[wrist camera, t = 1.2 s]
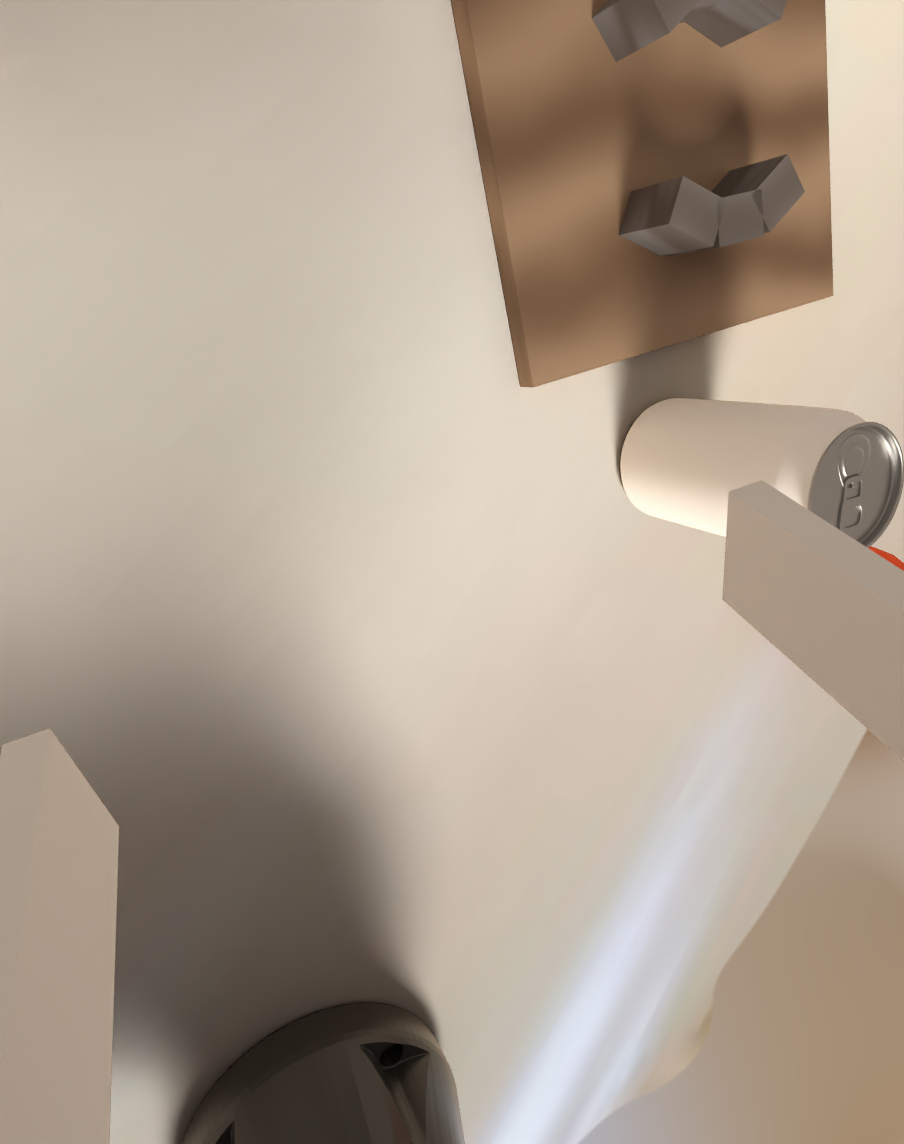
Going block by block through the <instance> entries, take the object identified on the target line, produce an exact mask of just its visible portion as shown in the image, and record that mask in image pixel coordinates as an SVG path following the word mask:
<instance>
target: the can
mask: <svg viewBox="0 0 904 1144" xmlns="http://www.w3.org/2000/svg"><path fill="white" fill-rule="evenodd" d="M620 472H621V479H622V483H623V487H624V490H625V492H626V494H627V496H628V498H629V499H630V501H631V502H632V503H633V505H634V506H635V507H636V508H638V509H639V510H640V511H642V512H643V513H646V514H648V515H651V516H654V517H657V518H660V519H664V520H667V521H671V522H674V523H678V524H681V525H685V526H689V527H692V528H696V529H699V530H703V531H707V532H710V533H714V534H717V535H721V536H725V537H726V528H727V511H728V494H729V491H732V490H735V489H738V488H740V487H743V486H746V485H749V484H752V483H755V482H758V481H761V480H763V481H764V482H766V483H767V484H769V485H770V486H772V487H774V488H775V489H777V490H778V491H780V492H781V493H783V494H784V495H786V496H788V497H789V498H791V499H792V500H794V501H795V502H797V503H798V504H800V505H802V506H803V507H805V508H806V509H808V510H809V511H811V512H812V513H814V514H816V515H817V516H819V517H820V518H822V519H823V520H825V521H827V522H828V523H830V524H831V525H833V526H834V527H836V528H837V529H839V530H841V531H842V532H844V533H845V534H847V535H848V536H850V537H851V538H853V539H855V540H856V541H858V542H859V543H861V544H862V545H864V546H865V547H867V548H869V547H870V546H871V545H872V544H873V543H875V542H876V541H877V539H878V538H879V537H880V536H881V535H882V534H883V532H884V531H885V530H886V528H887V527H888V525H889V523H890V522H891V520H892V518H893V516H894V514H895V511H896V509H897V506H898V504H899V500H900V497H901V493H902V488H903V481H904V461H903V455H902V451H901V448H900V445H899V443H898V441H897V439H896V437H895V436H894V434H893V433H892V432H891V431H890V430H889V429H888V428H887V427H885V426H883V425H881V424H879V423H875V422H866V421H865V420H863V419H862V418H860V417H859V416H857V415H855V414H853V413H851V412H848V411H843V410H838V409H829V408H818V407H805V406H791V405H778V404H763V403H749V402H734V401H719V400H703V399H685V398H672V399H666V400H663V401H660V402H658V403H656V404H654V405H652V406H650V407H649V408H647V409H646V410H645V411H644V412H643V413H642V414H641V415H640V416H639V417H638V418H637V419H636V421H635V422H634V423H633V425H632V427H631V428H630V430H629V432H628V434H627V436H626V438H625V441H624V444H623V447H622V451H621V458H620Z"/></svg>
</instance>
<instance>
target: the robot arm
mask: <svg viewBox="0 0 904 1144" xmlns="http://www.w3.org/2000/svg"><path fill="white" fill-rule="evenodd" d="M722 599H723V600H724V601H725V602H726V603H727V604H728V605H729V606H730V607H732V608H733V609H734V610H735V611H736V612H737V613H738V614H739V615H740V616H742V617H743V618H744V619H745V620H746V621H747V622H748V623H749V624H751V625H752V626H753V627H754V628H755V629H756V630H757V631H758V632H760V633H761V634H762V635H763V636H764V637H765V638H766V639H767V640H769V641H770V642H771V643H772V644H773V645H774V646H775V647H776V648H778V649H779V650H780V651H781V652H782V653H783V654H784V655H785V656H787V657H788V658H789V659H790V660H791V661H792V662H793V663H794V664H795V665H797V666H798V667H799V668H800V669H801V670H802V671H803V672H804V673H806V674H807V675H808V676H809V677H810V678H811V679H812V680H813V681H815V682H816V683H817V684H818V685H819V686H820V687H821V688H822V689H824V690H825V691H826V692H827V693H828V694H829V695H830V696H831V697H833V698H834V699H835V700H836V701H837V702H838V703H839V704H840V705H842V706H843V707H844V708H845V709H846V710H847V711H848V712H849V713H851V714H852V715H853V716H854V717H855V718H856V719H857V720H858V721H859V722H861V723H862V724H863V725H864V726H865V727H866V728H867V729H868V730H870V731H871V732H872V733H873V734H874V735H875V736H876V737H878V738H879V739H880V740H881V741H882V742H883V743H884V744H885V745H886V746H888V747H889V748H890V749H891V750H892V751H893V752H894V753H896V754H897V755H898V756H899V757H900V758H901V759H902V760H903V761H904V571H903V570H901V569H900V568H898V567H897V566H895V565H894V564H892V563H890V562H889V561H887V560H886V559H884V558H883V557H881V556H880V555H878V554H876V553H875V552H873V551H872V550H870V549H869V548H867V547H865V546H864V545H862V544H861V543H859V542H858V541H856V540H855V539H853V538H851V537H850V536H848V535H847V534H845V533H844V532H842V531H841V530H839V529H837V528H836V527H834V526H833V525H831V524H830V523H828V522H827V521H825V520H823V519H822V518H820V517H819V516H817V515H816V514H814V513H812V512H811V511H809V510H808V509H806V508H805V507H803V506H802V505H800V504H798V503H797V502H795V501H794V500H792V499H791V498H789V497H788V496H786V495H784V494H783V493H781V492H780V491H778V490H777V489H775V488H774V487H772V486H770V485H769V484H767V483H766V482H764V481H763V480H761V481H758V482H755V483H752V484H749V485H746V486H743V487H740V488H738V489H735V490H732V491H729V494H728V511H727V528H726V546H725V563H724V580H723V598H722ZM118 848H119V826H118V824H117V823H116V821H115V820H114V818H113V817H112V816H111V814H110V813H109V811H108V810H107V808H106V807H105V806H104V804H103V803H102V801H101V800H100V799H99V797H98V796H97V794H96V793H95V791H94V790H93V789H92V787H91V786H90V784H89V783H88V782H87V780H86V779H85V777H84V776H83V774H82V773H81V772H80V770H79V769H78V767H77V766H76V765H75V763H74V762H73V760H72V759H71V757H70V756H69V755H68V753H67V752H66V750H65V749H64V747H63V746H62V745H61V743H60V742H59V740H58V739H57V738H56V736H55V735H54V733H53V732H52V730H51V729H50V728H48V729H46V730H43V731H40V732H37V733H34V734H31V735H28V736H25V737H23V738H20V739H17V740H14V741H11V742H8V743H5V744H2V749H1V754H0V1144H109V1142H110V1109H111V1076H112V1044H113V1011H114V979H115V946H116V913H117V881H118ZM183 1144H465V1142H464V1135H463V1129H462V1122H461V1116H460V1109H459V1103H458V1096H457V1090H456V1084H455V1080H454V1077H453V1074H452V1071H451V1068H450V1066H449V1064H448V1062H447V1060H446V1058H445V1056H444V1054H443V1052H442V1050H441V1048H440V1046H439V1044H438V1043H437V1041H436V1039H435V1037H434V1035H433V1033H432V1032H431V1030H430V1029H429V1028H428V1027H427V1026H426V1024H424V1023H423V1022H422V1021H421V1020H420V1019H419V1018H417V1017H416V1016H415V1015H413V1014H411V1013H409V1012H407V1011H405V1010H403V1009H400V1008H397V1007H393V1006H389V1005H383V1004H372V1003H364V1004H351V1005H345V1006H339V1007H335V1008H331V1009H327V1010H324V1011H321V1012H318V1013H315V1014H312V1015H310V1016H307V1017H305V1018H302V1019H300V1020H298V1021H296V1022H294V1023H292V1024H290V1025H288V1026H286V1027H284V1028H282V1029H280V1030H279V1031H277V1032H275V1033H274V1034H272V1035H270V1036H269V1037H268V1038H266V1039H265V1040H263V1041H262V1042H260V1043H259V1044H258V1045H256V1046H255V1047H254V1048H252V1049H251V1050H250V1051H248V1052H247V1053H246V1054H245V1055H244V1056H242V1057H241V1058H240V1059H239V1060H238V1061H237V1062H236V1063H235V1064H234V1065H233V1066H232V1067H231V1068H230V1069H229V1070H228V1071H227V1072H226V1073H225V1074H224V1075H223V1076H222V1077H221V1078H220V1079H219V1081H218V1082H217V1083H216V1084H215V1085H214V1087H213V1088H212V1089H211V1090H210V1092H209V1093H208V1094H207V1096H206V1097H205V1099H204V1100H203V1102H202V1103H201V1105H200V1106H199V1108H198V1110H197V1111H196V1113H195V1115H194V1117H193V1119H192V1121H191V1123H190V1125H189V1127H188V1129H187V1132H186V1135H185V1137H184V1140H183Z"/></svg>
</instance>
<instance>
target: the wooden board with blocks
mask: <svg viewBox="0 0 904 1144" xmlns="http://www.w3.org/2000/svg"><path fill="white" fill-rule="evenodd" d="M451 3H452V9H453V14H454V20H455V25H456V31H457V37H458V42H459V48H460V53H461V59H462V64H463V70H464V76H465V81H466V87H467V92H468V98H469V103H470V109H471V114H472V120H473V126H474V131H475V137H476V142H477V148H478V153H479V159H480V165H481V170H482V176H483V181H484V187H485V192H486V198H487V204H488V209H489V215H490V220H491V226H492V231H493V237H494V242H495V248H496V254H497V259H498V265H499V270H500V276H501V281H502V287H503V293H504V298H505V304H506V309H507V315H508V320H509V326H510V331H511V337H512V343H513V348H514V354H515V359H516V365H517V370H518V376H519V382H520V387H536V386H539V385H543V384H546V383H549V382H552V381H556V380H559V379H562V378H566V377H569V376H572V375H575V374H579V373H582V372H585V371H588V370H592V369H595V368H598V367H601V366H605V365H608V364H611V363H615V362H618V361H621V360H624V359H628V358H631V357H634V356H637V355H641V354H644V353H647V352H651V351H654V350H657V349H660V348H664V347H667V346H670V345H673V344H677V343H680V342H683V341H686V340H690V339H693V338H696V337H700V336H703V335H706V334H709V333H713V332H716V331H719V330H722V329H726V328H729V327H732V326H736V325H739V324H742V323H745V322H749V321H752V320H755V319H758V318H762V317H765V316H768V315H771V314H775V313H778V312H781V311H785V310H788V309H791V308H794V307H798V306H801V305H804V304H807V303H811V302H814V301H817V300H820V299H824V298H827V297H830V296H833V269H832V233H831V197H830V161H829V125H828V88H827V52H826V16H825V0H451Z"/></svg>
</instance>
